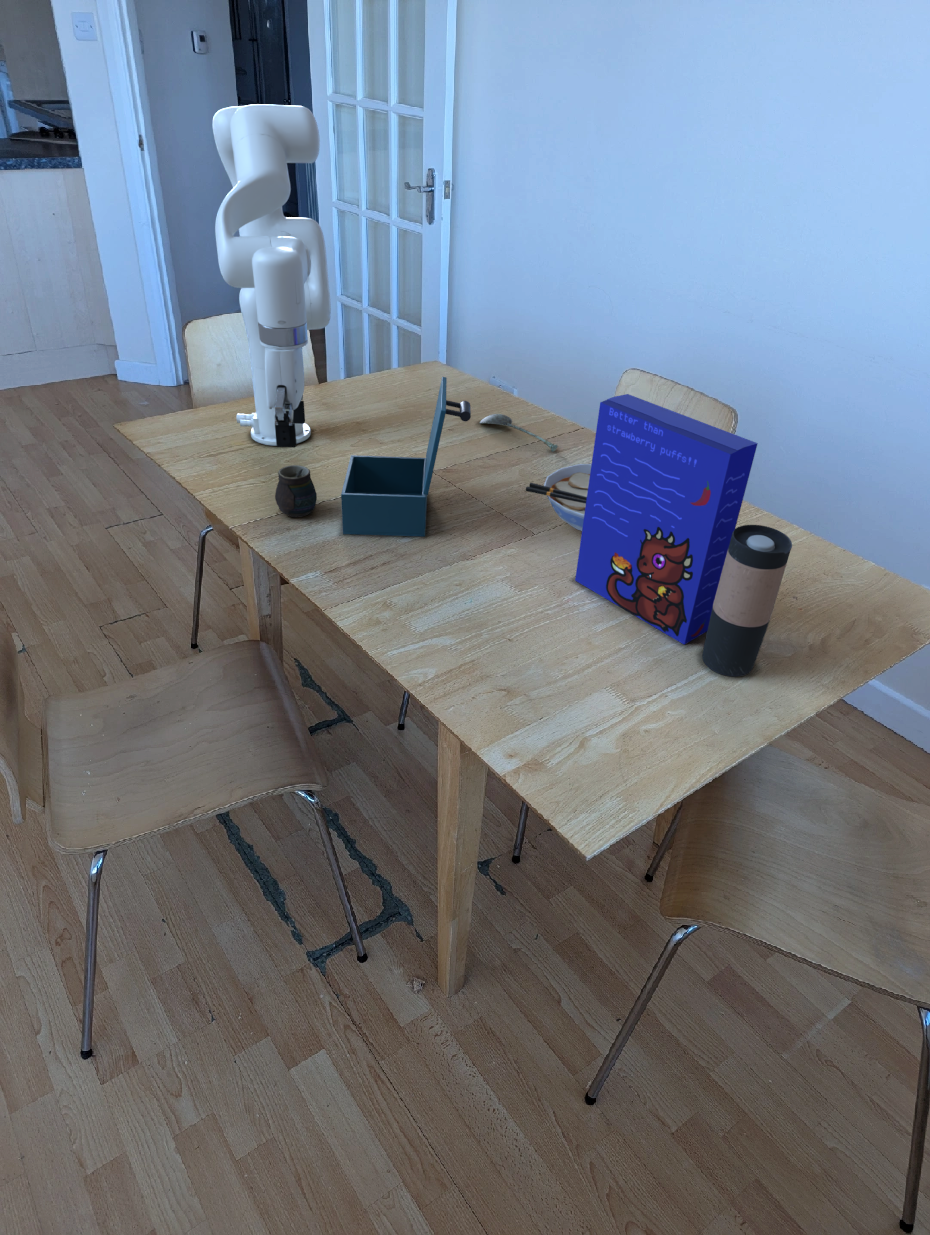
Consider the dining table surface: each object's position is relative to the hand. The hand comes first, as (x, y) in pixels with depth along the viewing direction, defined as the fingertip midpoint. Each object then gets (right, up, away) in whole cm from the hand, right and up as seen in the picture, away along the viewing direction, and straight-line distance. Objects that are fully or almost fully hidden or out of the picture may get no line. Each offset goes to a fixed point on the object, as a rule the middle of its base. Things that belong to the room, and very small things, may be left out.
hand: (291, 434), depth 140 cm
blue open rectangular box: (+15, -12, +9) cm, 22 cm away
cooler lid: (+24, 0, 0) cm, 24 cm away
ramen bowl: (+54, -15, +8) cm, 57 cm away
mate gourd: (0, -13, +8) cm, 15 cm away
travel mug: (+67, -38, -24) cm, 80 cm away
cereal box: (+57, -29, -12) cm, 65 cm away
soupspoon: (+41, +9, +42) cm, 59 cm away
